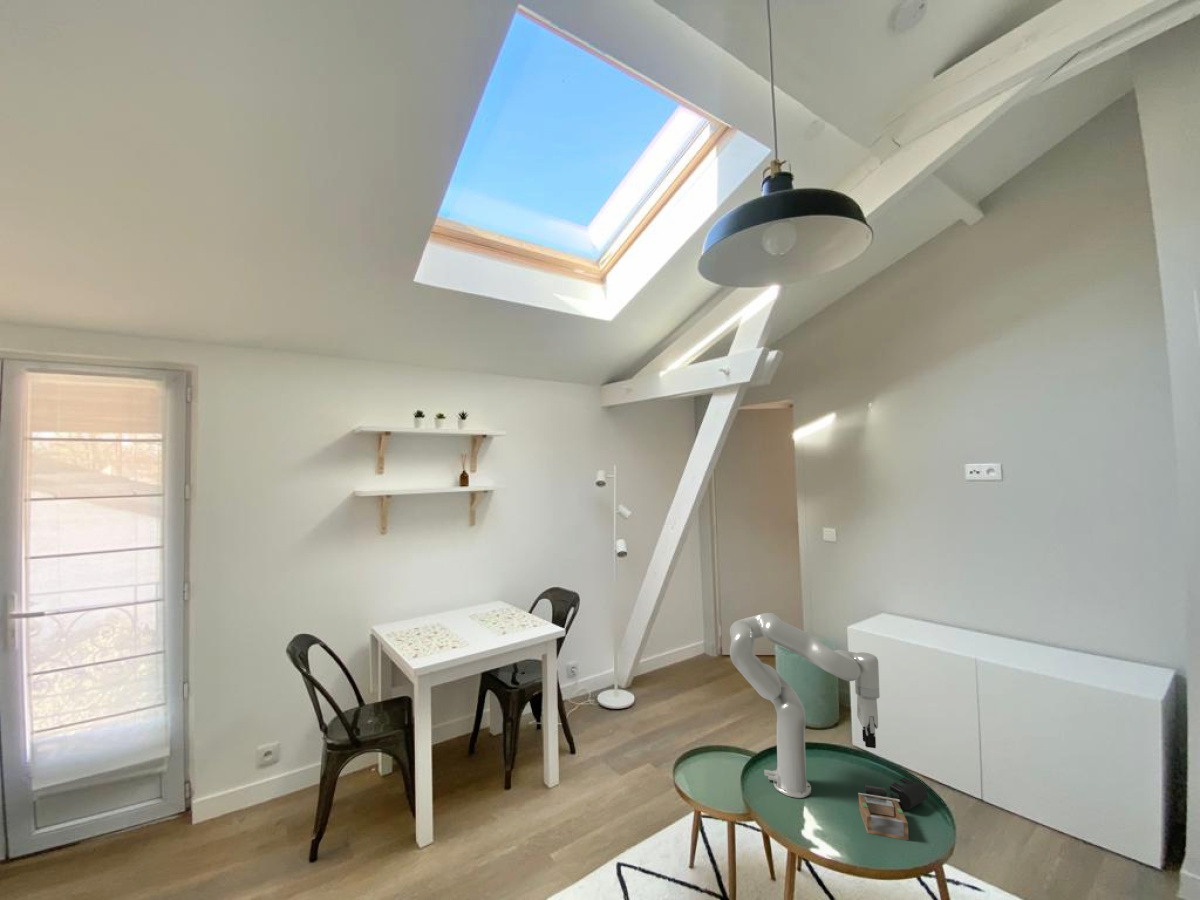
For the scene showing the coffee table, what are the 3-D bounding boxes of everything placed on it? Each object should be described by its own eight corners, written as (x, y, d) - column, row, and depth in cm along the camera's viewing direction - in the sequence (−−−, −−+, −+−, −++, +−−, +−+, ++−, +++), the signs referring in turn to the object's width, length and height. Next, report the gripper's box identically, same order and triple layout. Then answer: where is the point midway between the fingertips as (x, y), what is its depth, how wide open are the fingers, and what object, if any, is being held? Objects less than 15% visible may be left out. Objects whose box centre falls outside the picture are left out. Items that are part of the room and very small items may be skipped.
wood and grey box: (867, 833, 152) (866, 815, 152) (859, 808, 164) (858, 792, 164) (908, 840, 149) (907, 822, 149) (896, 815, 160) (896, 798, 161)
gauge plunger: (859, 810, 160) (859, 794, 161) (855, 799, 166) (855, 783, 167) (901, 817, 157) (900, 801, 157) (895, 805, 163) (895, 789, 163)
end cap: (911, 816, 160) (910, 794, 160) (889, 804, 166) (888, 783, 167) (928, 806, 165) (927, 785, 165) (906, 794, 171) (905, 774, 171)
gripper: (850, 680, 182) (852, 731, 181) (860, 698, 166) (862, 755, 165) (873, 682, 180) (875, 734, 178) (885, 701, 164) (887, 758, 163)
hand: (869, 743), depth 172 cm, fingers open, 3 cm apart
